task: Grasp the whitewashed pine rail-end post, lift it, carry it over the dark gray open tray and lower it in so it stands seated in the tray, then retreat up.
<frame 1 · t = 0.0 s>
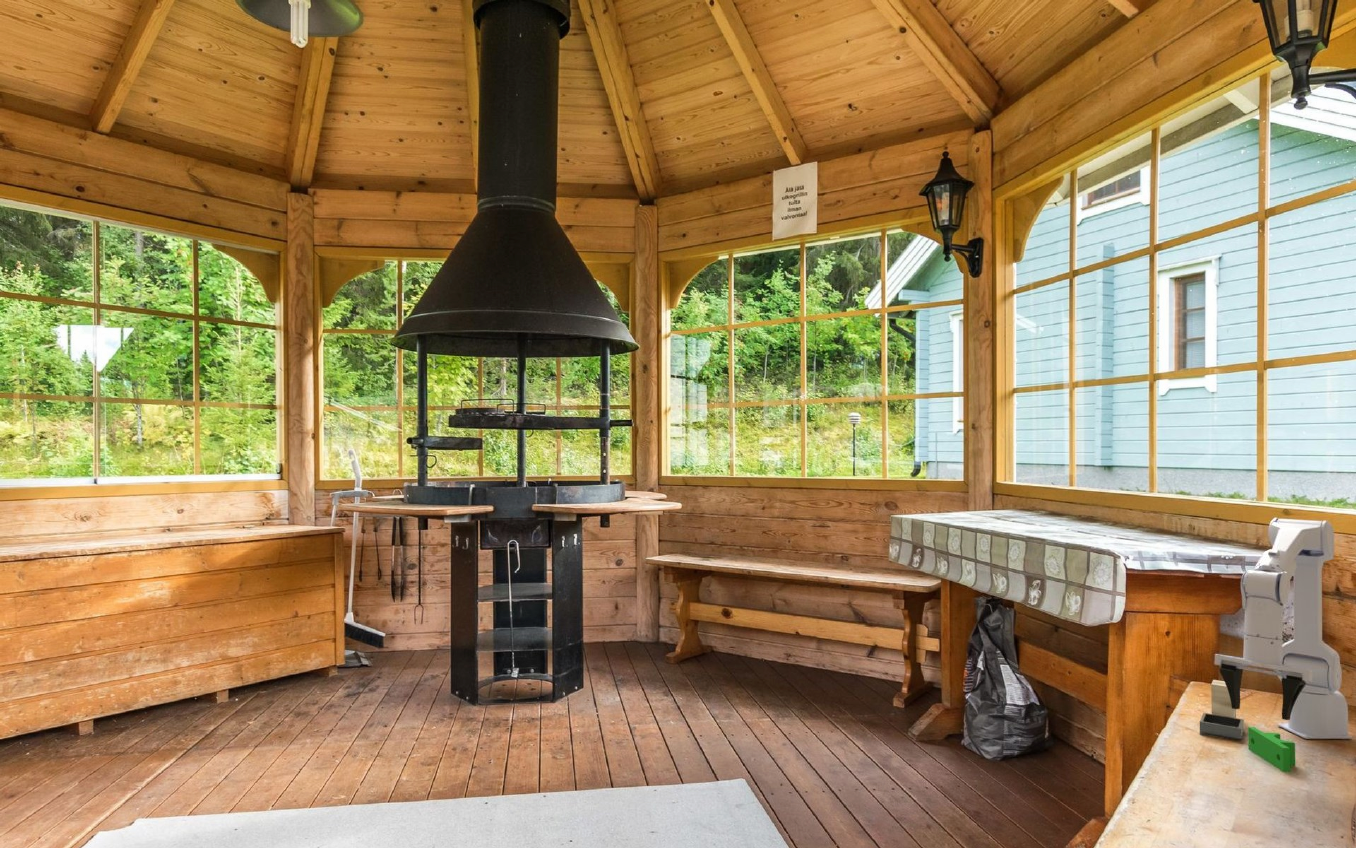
hand: (1260, 714, 149), 11 cm above the table, tool pointing down, fingers open, 7 cm apart
rail post: (1223, 721, 176), on the table
pipe clamp: (1275, 762, 154), on the table
dark gray open tray: (1221, 732, 169), on the table
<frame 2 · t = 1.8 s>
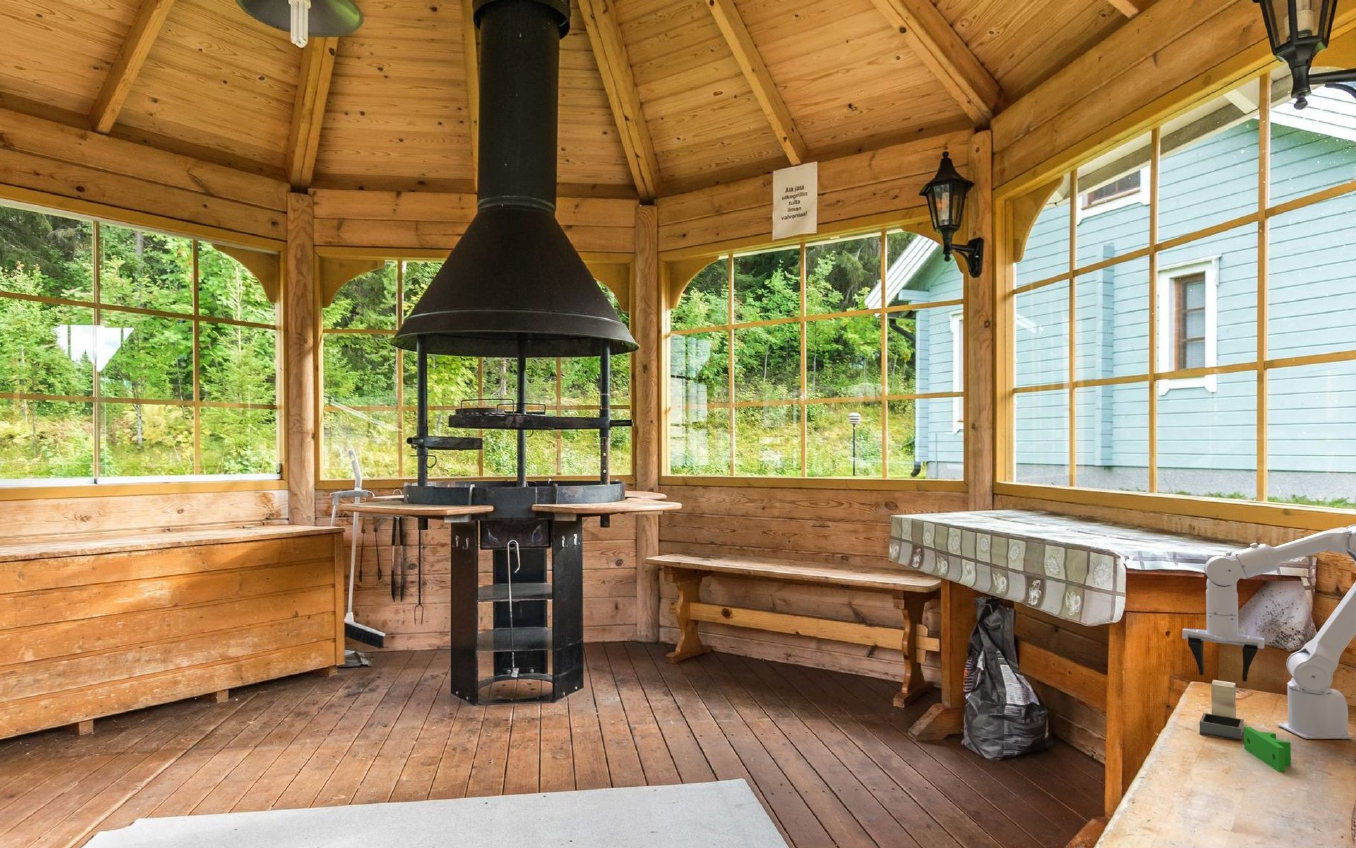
hand: (1222, 677, 176), 9 cm above the table, tool pointing down, fingers open, 7 cm apart
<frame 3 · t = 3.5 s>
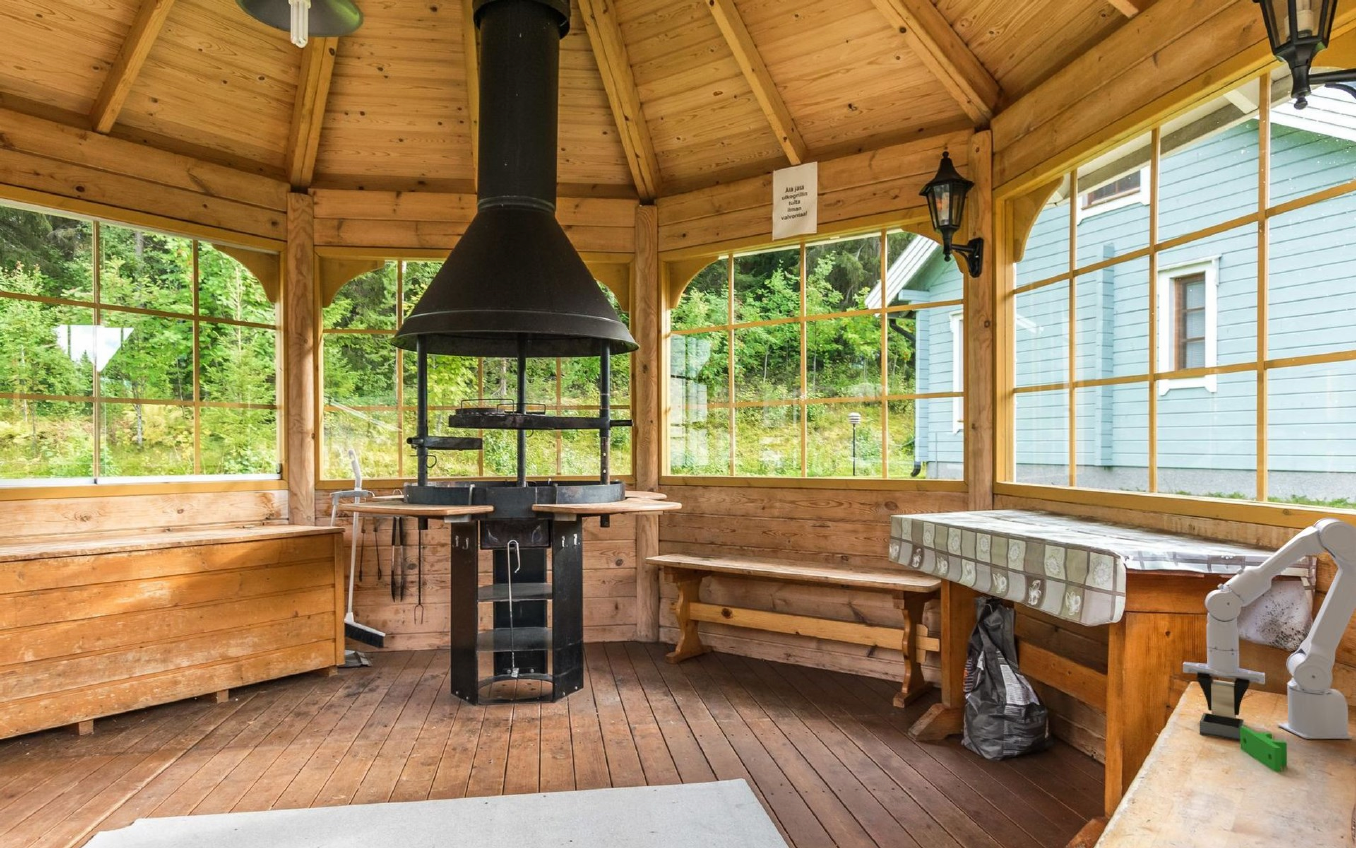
hand: (1223, 711, 176), 2 cm above the table, tool pointing down, fingers closed on rail post, 4 cm apart
rail post: (1223, 721, 176), on the table, touching gripper
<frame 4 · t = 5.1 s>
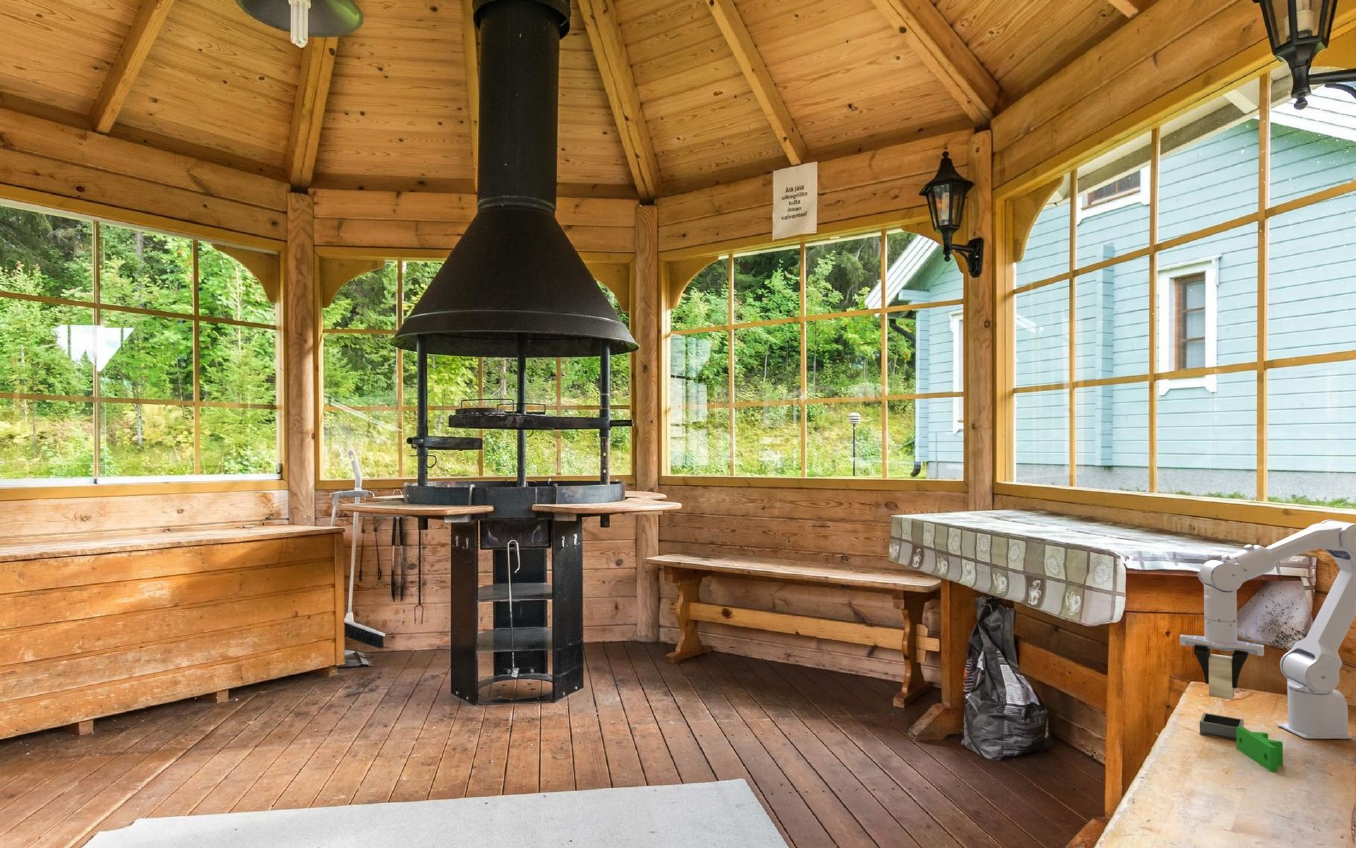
hand: (1221, 685, 172), 9 cm above the table, tool pointing down, fingers closed on rail post, 4 cm apart
rail post: (1221, 696, 172), point 7 cm above the table, touching gripper
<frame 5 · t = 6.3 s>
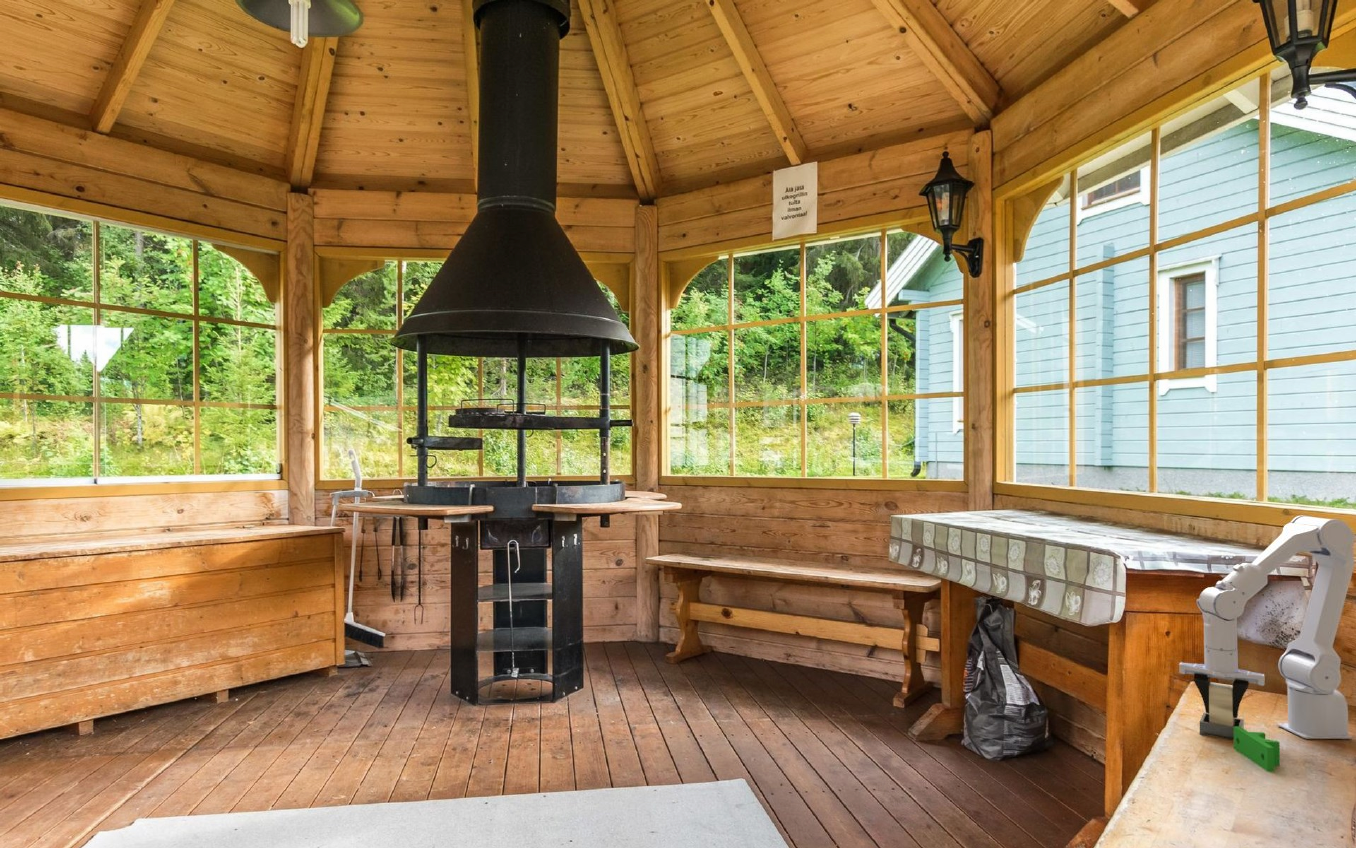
hand: (1221, 714, 169), 4 cm above the table, tool pointing down, fingers closed on rail post, 4 cm apart
rail post: (1221, 725, 169), point 1 cm above the table, touching gripper
when the fingers open (4 cm above the table, at t = 7.1 s): rail post stays where it is, resting on dark gray open tray.
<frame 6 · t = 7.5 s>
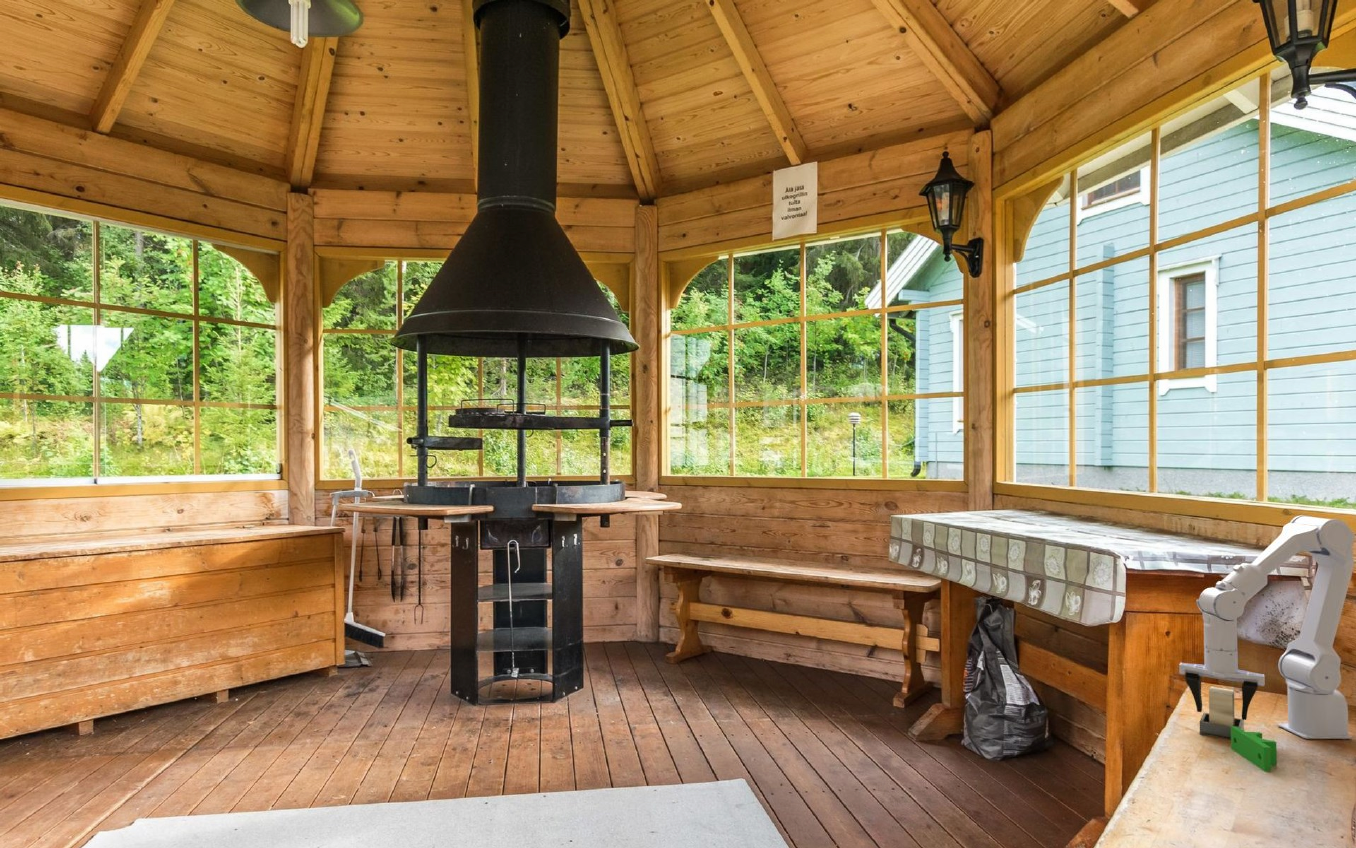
hand: (1221, 714, 169), 4 cm above the table, tool pointing down, fingers open, 7 cm apart
rail post: (1222, 730, 169), resting on dark gray open tray
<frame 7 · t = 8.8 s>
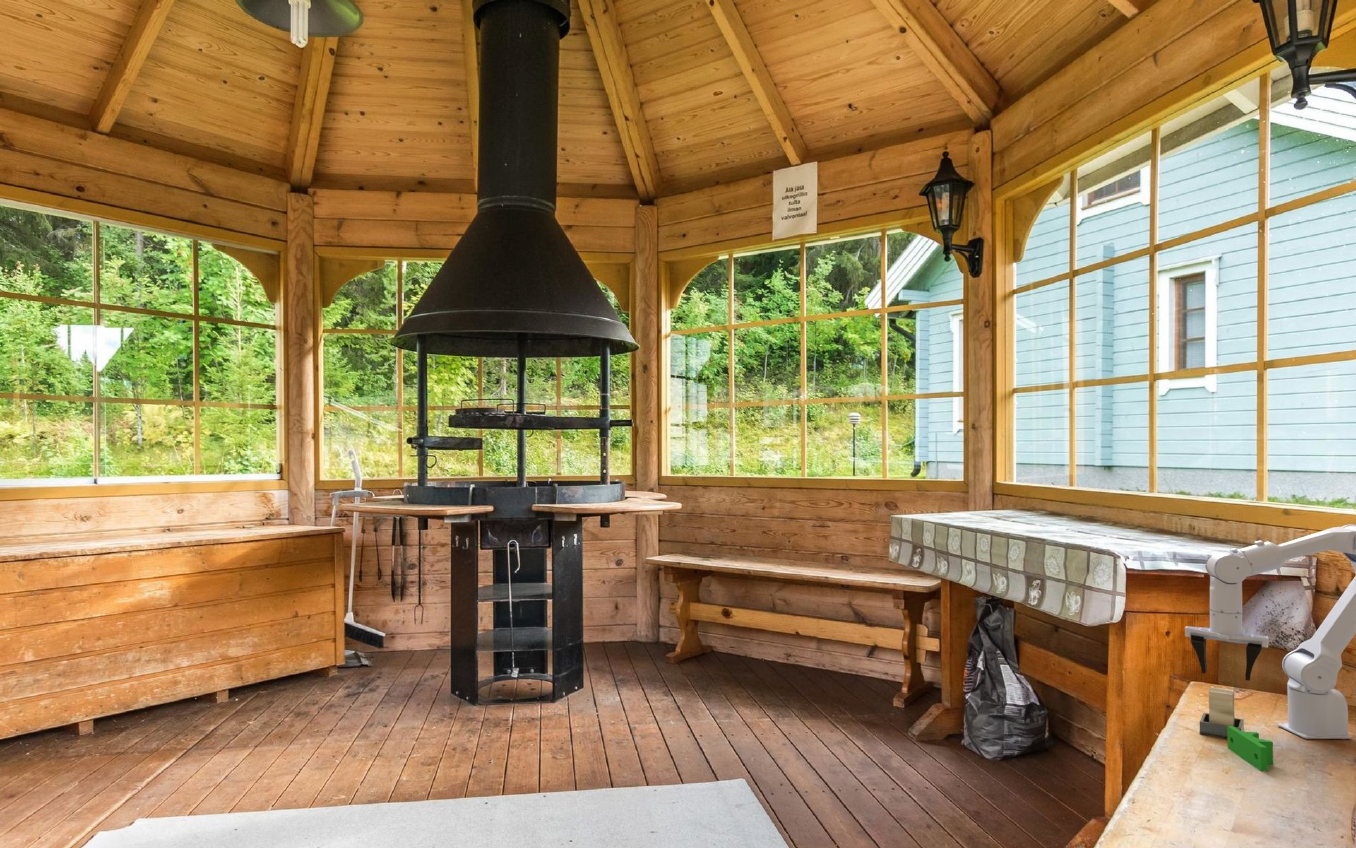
hand: (1225, 676, 173), 10 cm above the table, tool pointing down, fingers open, 7 cm apart
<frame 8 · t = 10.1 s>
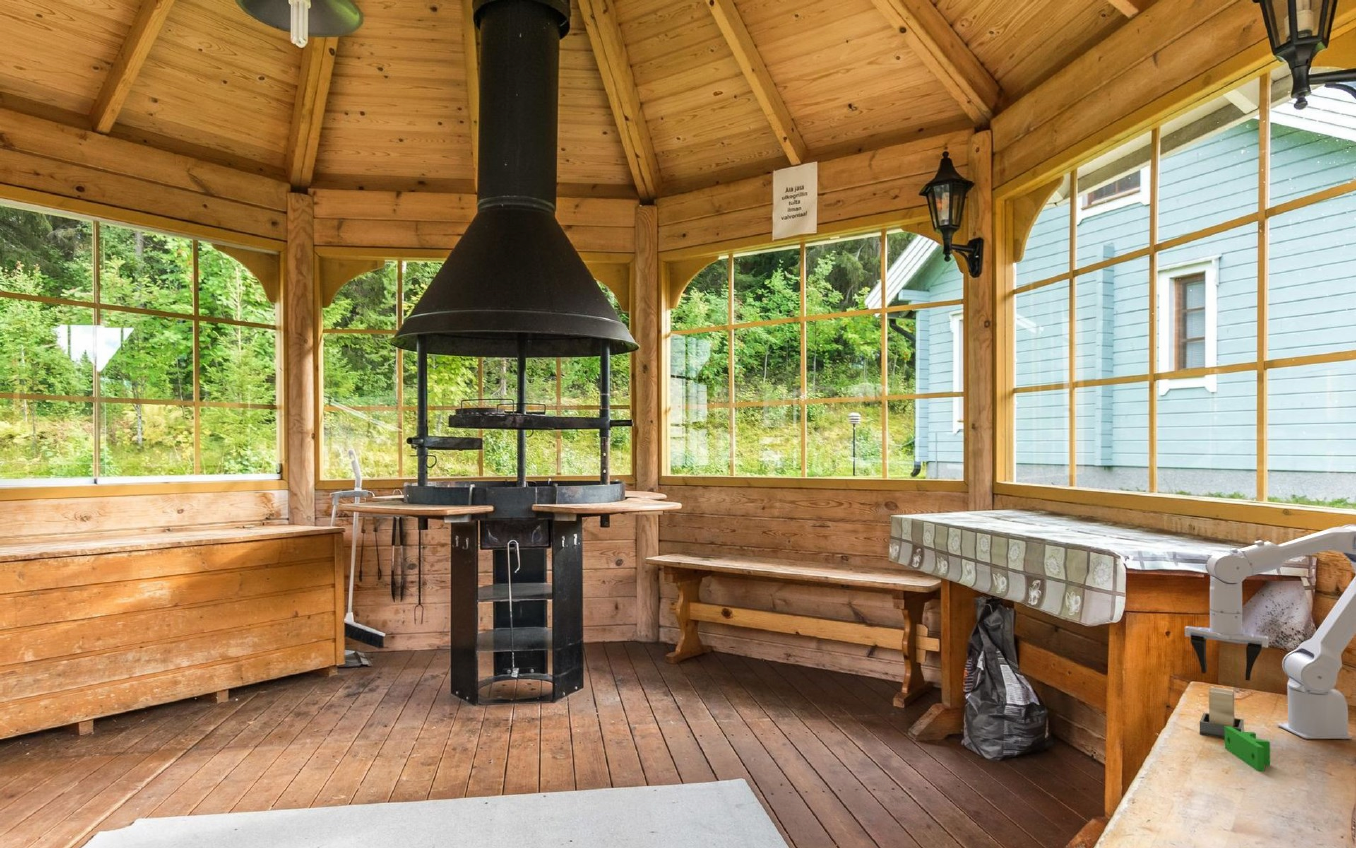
hand: (1225, 676, 173), 10 cm above the table, tool pointing down, fingers open, 7 cm apart
at the end: rail post 0.3 cm off-centre on the dark gray open tray, point 0.5 cm above the dark gray open tray's base; rail post tilted 0°; the gripper is holding nothing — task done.
